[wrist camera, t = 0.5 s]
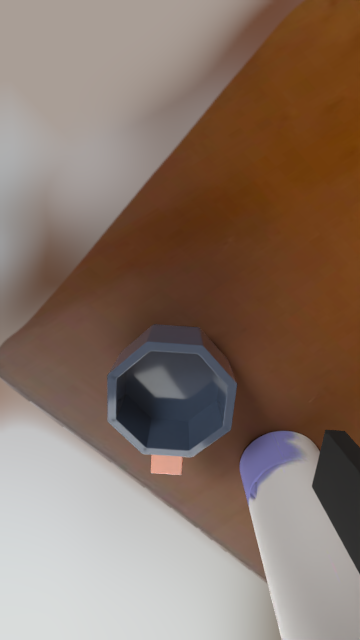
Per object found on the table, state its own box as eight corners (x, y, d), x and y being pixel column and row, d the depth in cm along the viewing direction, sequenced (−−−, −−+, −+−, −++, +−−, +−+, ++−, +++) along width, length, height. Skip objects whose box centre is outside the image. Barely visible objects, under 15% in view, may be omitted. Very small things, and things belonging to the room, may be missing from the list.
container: (298, 504, 36) (432, 806, 17) (227, 483, 35) (280, 774, 16) (334, 443, 33) (541, 717, 14) (258, 419, 33) (367, 674, 13)
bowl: (121, 321, 28) (107, 339, 23) (231, 329, 28) (242, 348, 23) (119, 434, 31) (107, 471, 26) (217, 441, 31) (224, 479, 26)
